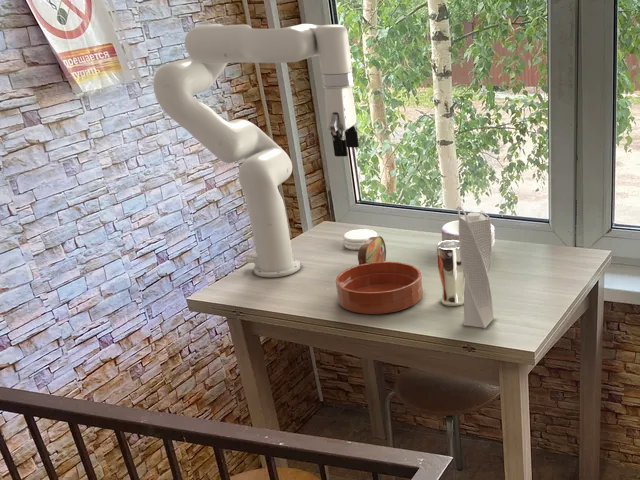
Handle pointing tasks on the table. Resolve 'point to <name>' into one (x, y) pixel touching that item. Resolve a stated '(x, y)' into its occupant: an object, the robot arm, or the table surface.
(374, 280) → the bowl
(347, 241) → the coaster
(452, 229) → the paper bowls
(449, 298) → the chrome tumbler
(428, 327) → the table surface
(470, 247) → the skyscraper
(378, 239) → the tin
